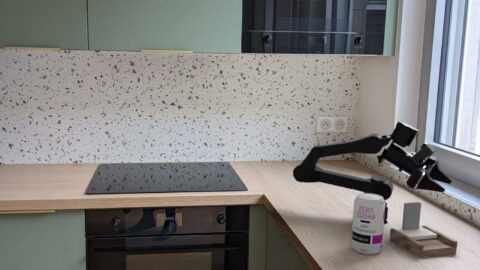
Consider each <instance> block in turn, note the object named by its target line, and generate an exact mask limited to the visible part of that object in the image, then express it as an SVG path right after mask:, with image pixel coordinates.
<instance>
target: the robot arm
mask: <svg viewBox="0 0 480 270" xmlns="http://www.w3.org/2000/svg"><path fill="white" fill-rule="evenodd" d="M419 131H420V130H419V129H418V128H416V127H414V126H413V125H411V124H408V123H406V122H403V121H401V120H398V121H397V122H396V125H395V128H394V129H393V131H392V133H391V134H387V135H386V134H385V135H381V134H379V133H371V134H367V135H365V136H363V137H362V136H361V137H360V138H359V137H358V138H356V139H354V140H349V141H343V142H342V141H341V142H335V143H329V144H328V143H327V144H321V145H320V144H317V145H316V144H315V145H314V146H313V147H312V148H311V149H310V151H309V153H308V154H307V155H306V157H305V158H304V159H303V161H302V162H300V163H299V164H297V165H296V166H295V167H294V168H293V171H292V176H293V178H294V180H295V181H296V182H298V183H306V184H309V183H311V184H312V183H322V184H327V185H330V186H331V185H332V186H335V187H339V188H344V189H349V190H353V191H357V192H362V193H371V194H377V195H380V196H382V197H383V199H384V201H385V215H384V224H388V223H389V221H388V215H389V214H388V213H389V207H388V203H387V202H386V201H387V200H389V199H390V198H391V196H392V194H393V192H394V184H393V182H392V181H391V180H390V179H388V178H386V176H379V175H377V174H372V175H371V177H370V178H364V177H359V176H353V175H349V174H345V173H340V172H335V171H331V170H327V169H323V168H321V167H320V166H318V165H317V164H318V163H319V162H320V161H319V160H320V159H321V158H326V157H334V156H340V155H347V154H348V155H349V154H364V155H365V154H366V155H376V154H379V153H380V152H381V151H382V152H381V154H380V155H376V158H377V161H378V165H381V164H383V163H384V162H385V161H386V162H388V163H389V164H391V165H393V166H395V167H396V168H398V170H397V171H398V172H400V173H401V172H405V173H406V174H408V175H409V176H408V178H407V180H406V185H407V187H408V188H410V189H411V190H414V189H416V190H423V191H432V192H437V193H445V192H446V188H445V187H444V186H442V185H441V184H440V183H444V184H448V185H451V184H452V182H453V180H452V179H451V178H450V177H449V176H448V175H447V174H446V173H445V172H444V171H443V170H442V169H441V168H440V165H439V160H438V158H437V157H436V156H434V155H433V154H435V152H437V150H436V149H435V147H434V144H433V143H431V142H426V141H425V142H423V143H422V144H420V149H419V150H418V151H417V152H415V151H410V152H408V151H407V150H406V149H405V148H406V147H410V146H411V145H412V143H413V141H414V140H415V138H416V136H417V135H418V133H419ZM386 146H388V147H386ZM403 148H404V149H403ZM382 149H383V150H382ZM438 182H440V183H438Z"/></svg>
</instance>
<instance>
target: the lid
mask: <svg viewBox="0 0 480 270" xmlns="http://www.w3.org/2000/svg"><path fill="white" fill-rule="evenodd" d="M421 210H422V203H421V202H419V201H418V202H417V201H415V202H404V203H403V211H402V212H403V214H402V223H401V228H398V229H396V230H398V231H399V232H401V233H403V234H405V235H407V236H409V237H410V238H412V239H414V240H420V239H431V238H437V234H435V233H433V232H431V231H429V230H427V229H425V228H423V227H422V226H420V221H421Z"/></svg>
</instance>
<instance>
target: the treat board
mask: <svg viewBox="0 0 480 270" xmlns="http://www.w3.org/2000/svg"><path fill="white" fill-rule="evenodd" d="M421 227H423V228H425V229H427V230H429V231H431V232H433V233H435V234H437V238H431V239H420V240H414V239H412V238H410V237H409V236H407V235H405V234H403V233H401V232H399V231H398V230H396V229H395V228H394V227H393V228H392V227H391V228H390V230H389V231H390V232H389V241H390V242H392V243H394V244H395V245H397V246H399V247H401V248H402V249H403V250H405V251H407V252H409V253H410V254H413V255H415V256H416V257H417V258H419V259H420V258H430V257H438V256H447V255H456V254H457V251H458V250H457V249H458V241H457V240H456V239H454V238H451V237H449V236H448V235H446V234H443V233H441V232H439V231H437V230H435V229H433V228H431V227H430V226H427V225H422V226H421Z"/></svg>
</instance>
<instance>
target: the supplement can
mask: <svg viewBox="0 0 480 270" xmlns="http://www.w3.org/2000/svg"><path fill="white" fill-rule="evenodd" d="M385 202H386V200H385V201H384V199H383V197H382V196H380V195H377V194H371V193H364V192H362V193H358V194H357V195H356V196H355V198H354V201H353V210H352V212H353V213H352V224H351V225H352V226H351V238H350V239H351V240H350V247H351V248H352V249H353V251H355V252H356V253H358V254H363V255H368V256H369V255H377V254H379V253H380V252H381V251H382V249H383V238H384V237H383V236H384V227H385V225H384V224H385V223H384V215H385Z"/></svg>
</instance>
